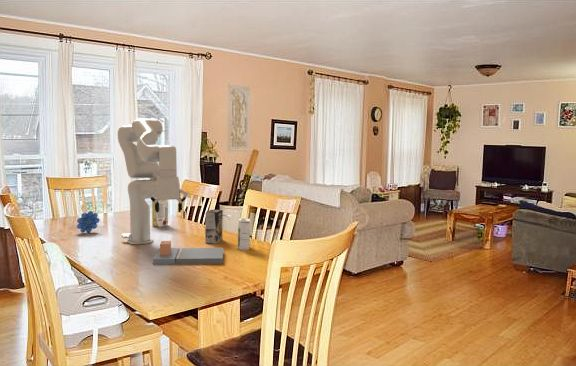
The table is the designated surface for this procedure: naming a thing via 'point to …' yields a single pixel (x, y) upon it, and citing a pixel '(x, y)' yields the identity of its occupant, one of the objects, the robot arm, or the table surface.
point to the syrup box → (244, 234)
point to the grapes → (88, 222)
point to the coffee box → (213, 226)
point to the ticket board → (199, 256)
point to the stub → (165, 254)
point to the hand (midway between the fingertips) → (168, 211)
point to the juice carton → (160, 214)
